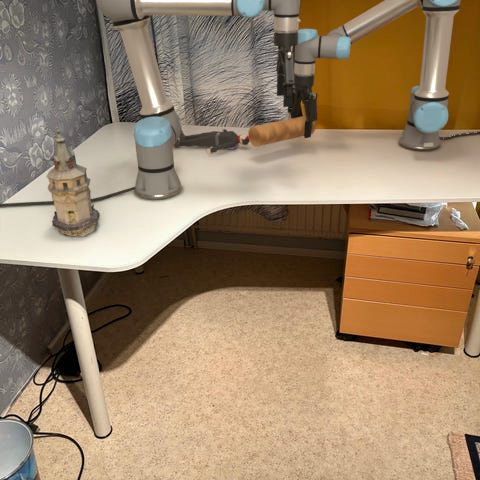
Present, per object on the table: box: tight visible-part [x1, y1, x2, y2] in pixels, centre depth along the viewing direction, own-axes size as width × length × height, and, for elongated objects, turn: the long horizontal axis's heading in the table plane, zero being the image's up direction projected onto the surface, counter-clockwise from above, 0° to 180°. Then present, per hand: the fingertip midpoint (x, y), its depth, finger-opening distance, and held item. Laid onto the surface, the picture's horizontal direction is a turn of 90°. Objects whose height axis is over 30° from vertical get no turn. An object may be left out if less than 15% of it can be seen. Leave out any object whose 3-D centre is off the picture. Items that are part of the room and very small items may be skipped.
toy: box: [173, 128, 250, 154], centre depth 214 cm, size 26×6×30 cm
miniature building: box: [46, 129, 101, 237], centre depth 148 cm, size 13×14×30 cm
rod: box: [247, 115, 316, 148], centre depth 202 cm, size 26×7×7 cm, turn 123°
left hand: (284, 100), depth 174 cm, fingers open, 13 cm apart
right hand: (300, 134), depth 207 cm, fingers closed on rod, 7 cm apart
